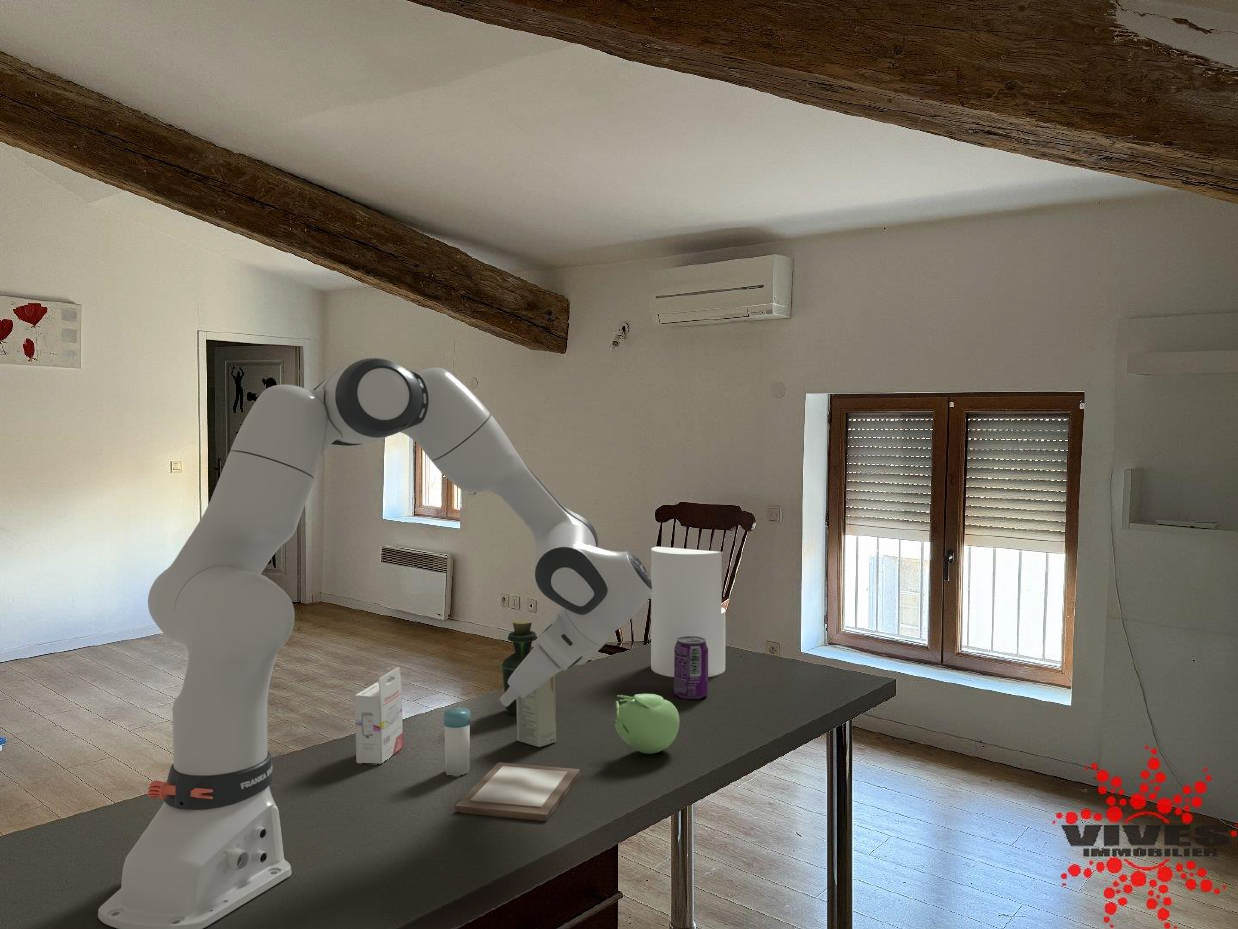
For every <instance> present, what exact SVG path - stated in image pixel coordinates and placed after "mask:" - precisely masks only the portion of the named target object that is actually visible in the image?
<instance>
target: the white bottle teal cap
mask: <svg viewBox="0 0 1238 929" xmlns="http://www.w3.org/2000/svg"><path fill="white" fill-rule="evenodd" d="M443 724H444V773H445V772H446V773H448V774H450V775H461V774H465V773H468V772H469V771H470V772H471V767H470V764H471V760H470V759H471V756H470V755H471V751H470V750H471V749H470V748H471V747H470V745H471V744H470V743H471V742H470V741H471V740H470V736H471V735H470V734H471V732H470V727H471V725H470V724H471V709H469V708H466V707H452V708H451V707H450V708H449V709H446V710H444V711H443ZM470 772H469V773H470ZM469 773H468V774H469Z"/></svg>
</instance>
